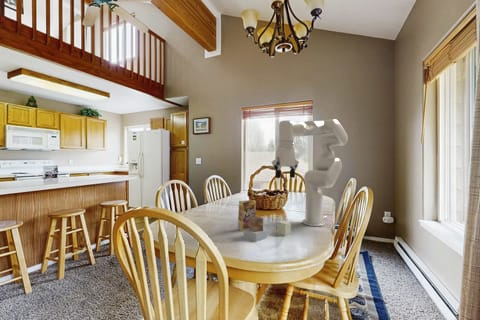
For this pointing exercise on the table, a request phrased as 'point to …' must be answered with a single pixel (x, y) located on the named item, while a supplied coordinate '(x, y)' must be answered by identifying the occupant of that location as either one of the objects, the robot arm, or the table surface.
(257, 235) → the pedestal block
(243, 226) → the candy box
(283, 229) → the sage block
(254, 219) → the walnut block
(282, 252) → the table surface
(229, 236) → the table surface
